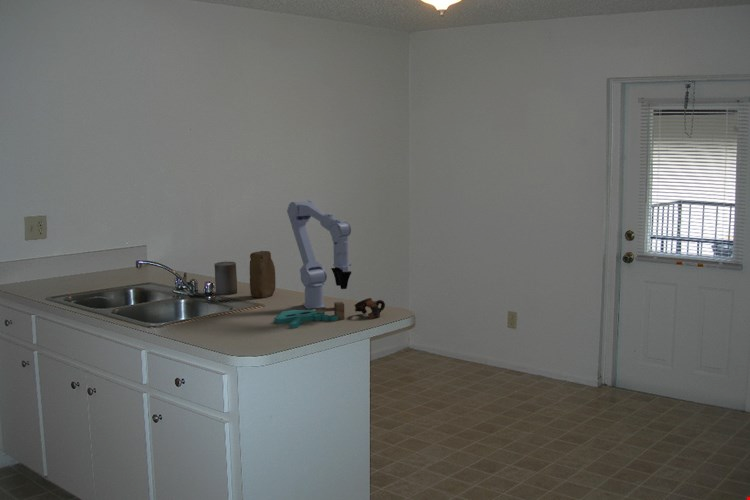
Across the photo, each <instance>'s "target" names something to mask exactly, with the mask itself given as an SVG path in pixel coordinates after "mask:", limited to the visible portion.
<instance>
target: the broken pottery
mask: <svg viewBox="0 0 750 500" xmlns="http://www.w3.org/2000/svg"><path fill="white" fill-rule="evenodd" d="M379 305H380V307H379ZM354 307H355V309H354V311H355V312H356V313H357V312H360V313H362V314H363V315H366V314H367V313H368V310H367V309H366V308H370V310H371V312H370V313H368V314H367V315H368V318H369V320H372V319H375V318H380V315H381V312H383V310H384V309H385V307H386V303H385V302H384V300H382V299H378V300H376V301H374V300H373V299H372V297H369V298H365V299H363V300H360V301H359V302H356V303H355V304H354Z"/></svg>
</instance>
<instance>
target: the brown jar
mask: <svg viewBox="0 0 750 500" xmlns="http://www.w3.org/2000/svg"><path fill="white" fill-rule="evenodd" d="M249 259H250V260H249V289H250V290H249V291H250V296H251V297H254V298H257V299H262V298H263V299H264V298H269V297H271V296H274V293H275V291H276V285H277V284H276V269H275V268H276V267H275V264H274V261H273V259H272V253H271V251H268V250H261V251H255V252H251V253H250V254H249Z"/></svg>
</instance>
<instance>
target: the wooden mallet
mask: <svg viewBox="0 0 750 500" xmlns="http://www.w3.org/2000/svg"><path fill="white" fill-rule="evenodd" d="M333 304H334V306H333V307H325V308H315V310H316V312H317V314H319V312H334V313H333V315H337V316H338V320H337V321H339V320H345V319H346V318H345V303H343V301H339V302H338V301H336V302H334V303H333Z"/></svg>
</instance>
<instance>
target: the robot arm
mask: <svg viewBox="0 0 750 500" xmlns="http://www.w3.org/2000/svg"><path fill="white" fill-rule="evenodd" d="M286 212H287V215H288V219H289V222H290V225H291V228H292V232H293V235H294V238H295V242H296V244H297V248H298V251H299V254H300V257H301V260H302V264H303V265H302V266H301V267H300V269H299V272H300V281H301V283H302V285H303V286H304V302H303V303H302V305H303V306H304V307H305V308H306V309H307V310H313V309H321V308H327V307H326V305H325V304H324V285H325V283H326V282H327V279H328V274H327V272H326V270H325V269H324V266H323V264H322V263H321V262H319V261H317V259H316V256H315V252H314V250H313V247H312V244H311V240H310V237H309V234H308V231H307V227H306V224H307V223H308V222H309V221H310V219H311V218H314V219H315V220H317V221H319V223H320V226H321V227H322V228H324V229H326V230H327V231H329V233H330V236H331V240H332V242H333V264H332V265H333V267H331V268H330V269H331V270H332V274H333V276H334V281H335V285H336V286H337V287H338V286H340V289H341V290H347V288H348V285H349V279H350V277H351V275H352V271H351V270H350V271H349V267H350V266H352V263H350V262H349V236H350V235H351V232H352V227H351V225H350V223H348V222H347V221H343V222H342V221H341V219H338V218H336V217H335V216H334V215H333V214H332V213H326V214H325V213H324V212H323V211H322V210H320V209H319V208H318V207H317V206H316V204H315V202H312V201H311V200H305V201H291V202H290V203H289V204H288V206H287V210H286Z"/></svg>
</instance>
